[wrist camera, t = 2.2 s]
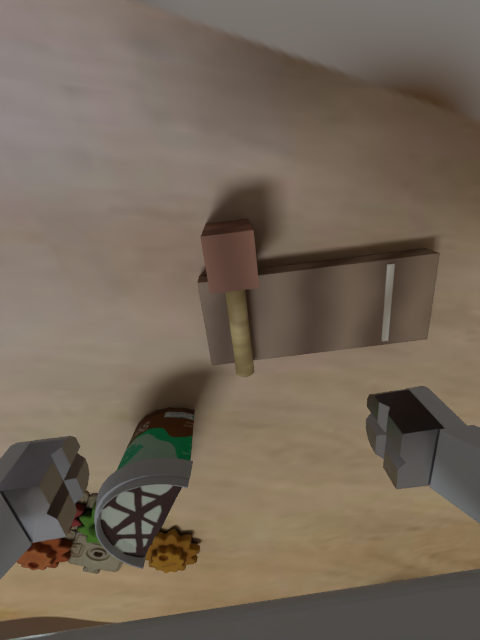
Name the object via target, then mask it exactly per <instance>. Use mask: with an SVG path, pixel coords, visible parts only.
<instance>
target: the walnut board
mask: <svg viewBox="0 0 480 640" xmlns="http://www.w3.org/2000/svg"><path fill="white" fill-rule="evenodd" d="M439 254H440V253H438V252H435V251H432V250H429V249H426V248H424V249H416V250H408V251H399V252H391V253H383V254H375V255H367V256H359V257H351V258H343V259H335V260H326V261H318V262H310V263H302V264H294V265H286V266H278V267H270V268H262V269H257V271H258V281H259V288H255V289H246V290H245V294H246V303H247V312H248V321H249V329H250V338H251V347H252V356H253V360H260V359H268V358H276V357H285V356H293V355H301V354H309V353H318V352H326V351H334V350H342V349H351V348H359V347H367V346H375V345H384V344H392V343H400V342H408V341H417V340H425V339H427V337H428V330H429V324H430V317H431V310H432V303H433V296H434V289H435V282H436V275H437V268H438V261H439ZM198 289H199V295H200V300H201V306H202V312H203V317H204V323H205V329H206V334H207V340H208V346H209V351H210V357H211V362H212V365H219V364H227V363H235V359H234V352H233V345H232V338H231V331H230V324H229V317H228V310H227V303H226V296H225V292H222V293H214V294H210V291H209V285H208V279H207V275H205V276H199V279H198Z"/></svg>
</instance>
